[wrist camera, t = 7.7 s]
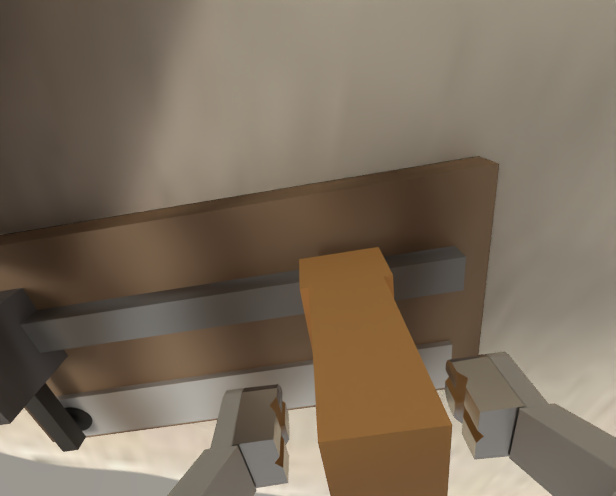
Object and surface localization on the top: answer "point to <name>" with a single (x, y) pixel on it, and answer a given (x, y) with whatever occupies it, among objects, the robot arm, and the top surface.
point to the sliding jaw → (370, 383)
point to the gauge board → (228, 296)
